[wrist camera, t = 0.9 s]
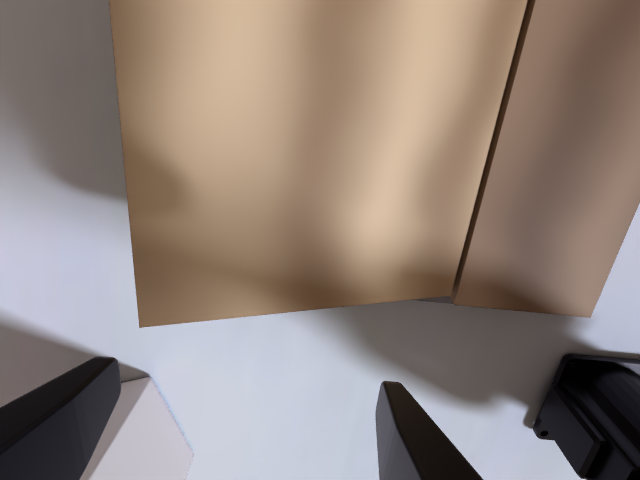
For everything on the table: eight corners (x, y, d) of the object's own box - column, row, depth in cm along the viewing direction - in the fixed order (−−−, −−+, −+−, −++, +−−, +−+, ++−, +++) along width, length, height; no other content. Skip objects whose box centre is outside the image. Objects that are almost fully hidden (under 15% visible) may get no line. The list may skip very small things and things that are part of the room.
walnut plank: (730, -115, 14) (788, -146, 12) (567, 298, 21) (590, 317, 19) (548, -138, 14) (581, -172, 12) (442, 286, 20) (454, 304, 19)
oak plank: (523, -127, 14) (567, -153, 12) (429, 278, 20) (450, 295, 18) (92, -301, 9) (73, -381, 7) (143, 302, 15) (139, 327, 14)
